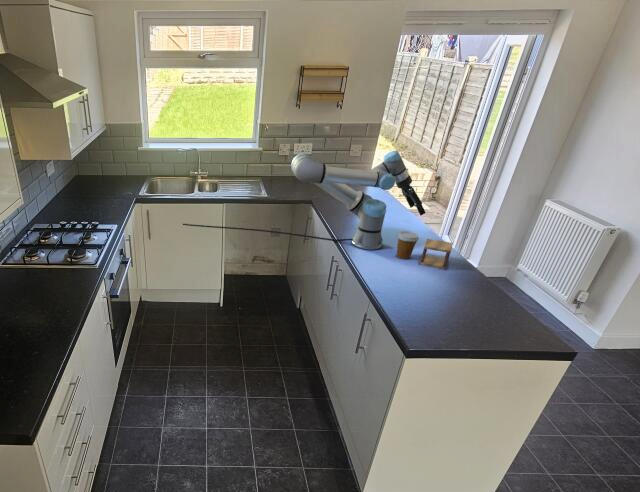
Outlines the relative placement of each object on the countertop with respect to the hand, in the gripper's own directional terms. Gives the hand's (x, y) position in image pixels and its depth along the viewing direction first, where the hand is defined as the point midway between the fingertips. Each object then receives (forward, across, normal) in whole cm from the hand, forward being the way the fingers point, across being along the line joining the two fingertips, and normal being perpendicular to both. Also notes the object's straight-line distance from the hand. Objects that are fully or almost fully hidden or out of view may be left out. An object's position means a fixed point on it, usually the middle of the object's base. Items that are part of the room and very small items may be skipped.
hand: (417, 210), depth 238 cm
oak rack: (+11, -36, +11) cm, 39 cm away
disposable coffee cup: (+4, -29, +21) cm, 36 cm away
